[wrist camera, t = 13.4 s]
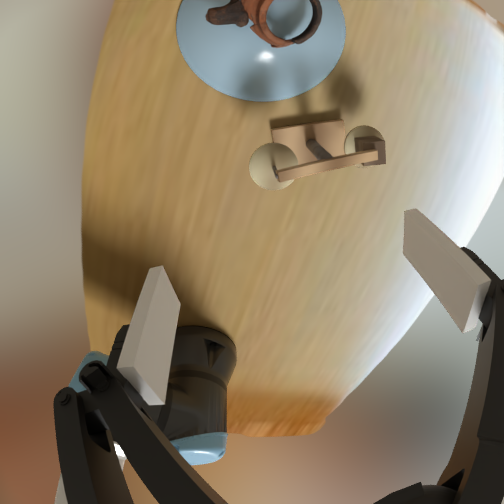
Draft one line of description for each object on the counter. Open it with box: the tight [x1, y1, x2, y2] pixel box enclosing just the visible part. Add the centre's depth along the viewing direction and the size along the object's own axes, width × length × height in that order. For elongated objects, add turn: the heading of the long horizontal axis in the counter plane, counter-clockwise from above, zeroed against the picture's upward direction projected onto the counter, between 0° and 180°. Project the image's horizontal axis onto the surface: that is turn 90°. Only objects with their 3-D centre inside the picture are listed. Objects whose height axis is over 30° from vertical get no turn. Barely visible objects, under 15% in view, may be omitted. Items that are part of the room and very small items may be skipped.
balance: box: [249, 119, 386, 190], centre depth 31 cm, size 16×5×11 cm, turn 101°
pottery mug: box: [205, 0, 322, 48], centre depth 25 cm, size 12×10×8 cm
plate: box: [176, 0, 346, 102], centre depth 28 cm, size 20×20×1 cm
